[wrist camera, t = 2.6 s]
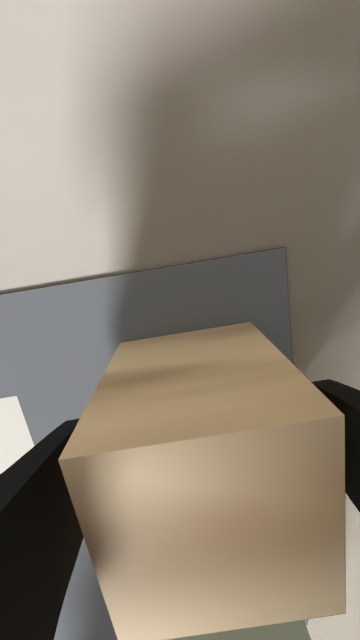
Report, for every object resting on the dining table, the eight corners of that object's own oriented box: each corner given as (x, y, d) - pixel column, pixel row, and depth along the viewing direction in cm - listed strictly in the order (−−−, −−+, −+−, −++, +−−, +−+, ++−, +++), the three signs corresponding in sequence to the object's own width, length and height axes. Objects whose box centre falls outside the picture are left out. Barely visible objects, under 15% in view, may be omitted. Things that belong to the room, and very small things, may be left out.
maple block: (261, 433, 12) (345, 613, 6) (145, 452, 12) (120, 647, 6) (250, 321, 11) (344, 415, 5) (119, 342, 11) (58, 459, 5)
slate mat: (307, 622, 15) (308, 625, 15) (2, 665, 16) (0, 669, 15) (284, 247, 10) (285, 247, 10) (-176, 323, 10) (-180, 324, 10)
